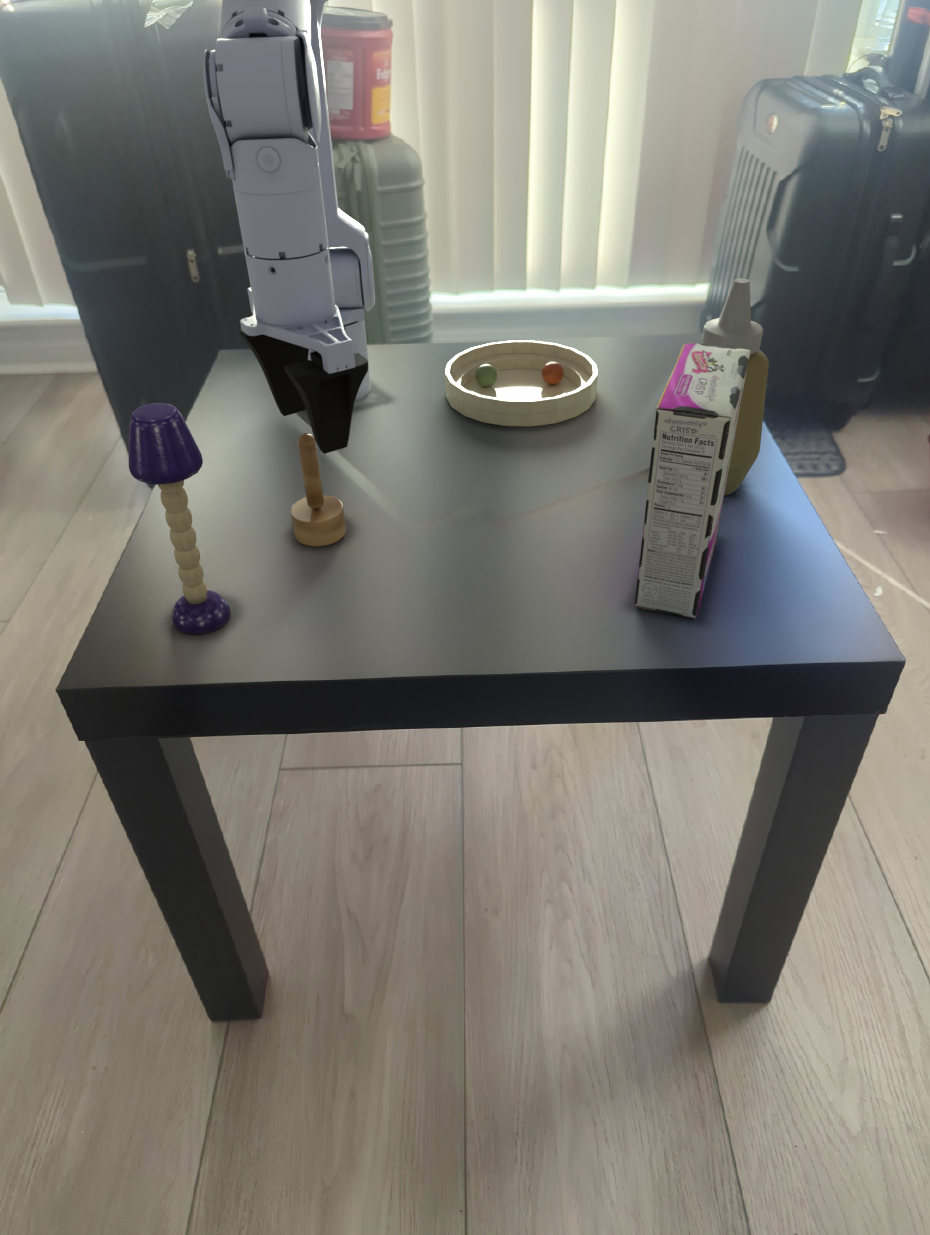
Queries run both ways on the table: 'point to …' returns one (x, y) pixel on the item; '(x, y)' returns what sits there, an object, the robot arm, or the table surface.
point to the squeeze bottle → (745, 334)
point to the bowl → (521, 383)
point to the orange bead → (552, 373)
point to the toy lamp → (176, 507)
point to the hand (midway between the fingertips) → (313, 429)
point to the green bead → (486, 375)
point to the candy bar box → (689, 476)
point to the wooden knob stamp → (315, 503)
